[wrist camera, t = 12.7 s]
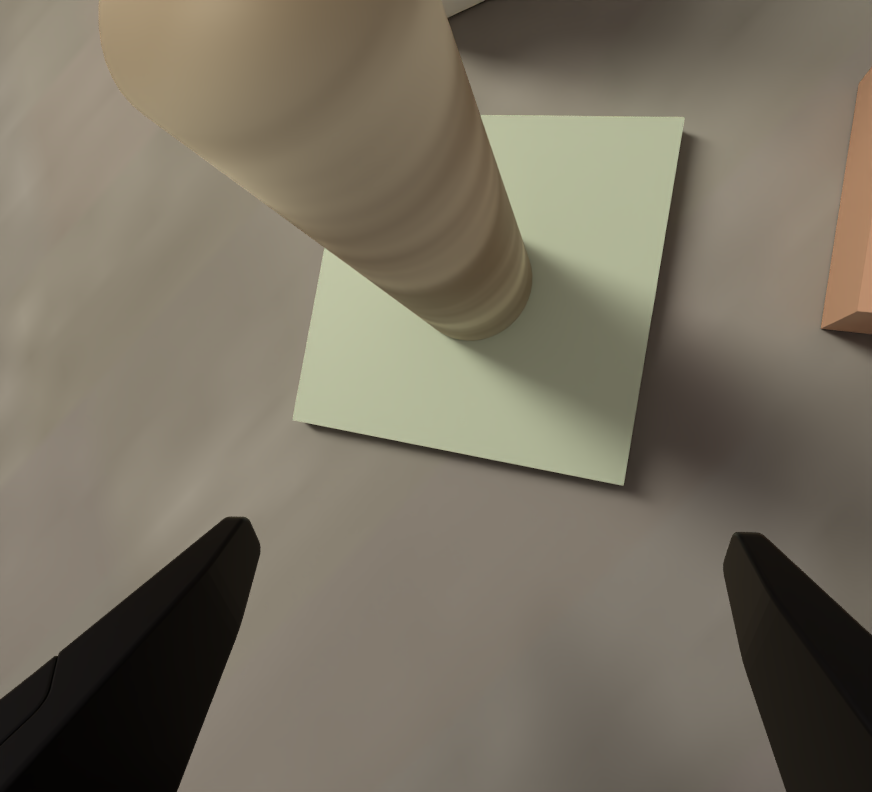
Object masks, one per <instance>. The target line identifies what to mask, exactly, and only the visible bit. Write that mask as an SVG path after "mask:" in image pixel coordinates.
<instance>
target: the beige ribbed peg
mask: <svg viewBox="0 0 872 792" xmlns="http://www.w3.org/2000/svg"><path fill="white" fill-rule="evenodd" d="M99 31H100V39H101V46H102V50H103V53H104V57H105V61H106V64H107V66H108V69H109V71H110V73H111V76H112V78H113V80H114V81H115V83H116V85H117V86H118V88H119V90H120V91H121V93H122V94H123V95H124V96H125V97H126V99H127V100H128V101H129V102H130V103H131V105H133V106H134V107H135V108H136V109H137V110H139V111H140V112H141V113H142V114H143V115H144V116H146V117H147V118H149V119H150V120H151V121H153V122H154V123H155V124H157V125H158V126H159V127H161V128H162V129H164V130H165V131H166V132H168V133H169V134H170V135H172V136H173V137H174V138H176V139H177V140H179V141H180V142H181V143H183V144H184V145H185V146H187V147H188V148H189V149H191V150H192V151H194V152H195V153H196V154H198V155H199V156H200V157H202V158H203V159H204V160H206V161H207V162H209V163H210V164H211V165H213V166H214V167H215V168H217V169H218V170H219V171H221V172H222V173H224V174H225V175H226V176H228V177H229V178H230V179H232V180H233V181H234V182H236V183H237V184H239V185H240V186H241V187H243V188H244V189H245V190H247V191H248V192H249V193H251V194H252V195H254V196H255V197H256V198H258V199H259V200H260V201H262V202H263V203H264V204H266V205H267V206H268V207H270V208H271V209H273V210H274V211H275V212H277V213H278V214H279V215H281V216H282V217H283V218H285V219H286V220H288V221H289V222H290V223H292V224H293V225H294V226H296V227H297V228H298V229H300V230H301V231H303V232H304V233H305V234H307V235H308V236H309V237H311V238H312V239H313V240H315V241H316V242H318V243H319V244H320V245H322V246H323V247H324V248H326V249H327V250H328V251H330V252H331V253H333V254H334V255H335V256H337V257H338V258H339V259H341V260H342V261H343V262H345V263H346V264H348V265H349V266H350V267H352V268H353V269H354V270H356V271H357V272H358V273H360V274H361V275H363V276H364V277H365V278H367V279H368V280H369V281H371V282H372V283H373V284H375V285H376V286H378V287H379V288H380V289H382V290H383V291H384V292H386V293H387V294H388V295H390V296H391V297H393V298H394V299H395V300H397V301H398V302H399V303H401V304H402V305H403V306H405V307H406V308H408V309H409V310H410V311H412V312H413V313H414V314H416V315H417V316H418V317H420V318H421V319H423V320H424V321H425V322H427V323H428V324H429V325H431V326H432V327H433V328H435V329H436V330H438V331H439V332H441V333H442V334H444V335H446V336H448V337H451V338H454V339H458V340H464V341H475V340H482V339H486V338H489V337H492V336H494V335H496V334H498V333H500V332H502V331H503V330H505V329H506V328H507V327H509V326H510V325H511V324H512V323H513V322H514V321H515V320H516V319H517V318H518V317H519V315H520V314H521V313H522V311H523V309H524V308H525V306H526V304H527V301H528V299H529V296H530V293H531V288H532V268H531V264H530V260H529V257H528V254H527V251H526V248H525V245H524V242H523V239H522V236H521V234H520V231H519V228H518V225H517V222H516V219H515V216H514V213H513V210H512V207H511V204H510V201H509V198H508V195H507V192H506V189H505V186H504V183H503V181H502V178H501V175H500V172H499V169H498V166H497V163H496V160H495V157H494V154H493V151H492V148H491V145H490V142H489V139H488V136H487V133H486V130H485V127H484V125H483V122H482V119H481V116H480V113H479V110H478V107H477V104H476V101H475V98H474V95H473V92H472V89H471V86H470V83H469V80H468V77H467V74H466V72H465V69H464V66H463V63H462V60H461V57H460V54H459V51H458V48H457V45H456V42H455V39H454V36H453V33H452V30H451V27H450V24H449V21H448V18H447V16H446V13H445V10H444V7H443V4H442V1H441V0H99Z"/></svg>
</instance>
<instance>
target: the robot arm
mask: <svg viewBox="0 0 872 792" xmlns="http://www.w3.org/2000/svg"><path fill="white" fill-rule="evenodd" d="M259 556H260V543H259V540H258V538H257V536H256V533H255V531H254V529H253V527H252V524H251V522H250V520H249V519H248V518H246V517H232V516H231V517H226V518H225V519H223V520H222V521H220V522H219V523H218V524H217V525H216V526H214V527H213V528H212V529H211V530H209V531H208V532H207V533H206V534H204V535H203V536H202V537H201V538H200V539H198V540H197V541H196V542H195V543H193V544H192V545H191V546H190V547H188V548H187V549H186V550H185V551H184V552H182V553H181V554H180V555H179V556H177V557H176V558H175V559H174V560H172V561H171V562H170V563H169V564H168V565H166V566H165V567H164V568H163V569H161V570H160V571H159V572H158V573H156V574H155V575H154V576H153V577H152V578H150V579H149V580H148V581H147V582H145V583H144V584H143V585H142V586H140V587H139V588H138V589H137V590H136V591H134V592H133V593H132V594H131V595H129V596H128V597H127V598H126V599H124V600H123V601H122V602H121V603H120V604H118V605H117V606H116V607H115V608H113V609H112V610H111V611H110V612H108V613H107V614H106V615H105V616H104V617H102V618H101V619H100V620H99V621H97V622H96V623H95V624H94V625H92V626H91V627H90V628H89V629H88V630H86V631H85V632H84V633H83V634H81V635H80V636H79V637H78V638H77V639H75V640H74V641H73V642H72V643H70V644H69V645H68V646H67V647H65V648H64V649H63V650H62V651H61V652H60V653H59V654H58V656H54V657H53V658H52V659H50V660H49V661H48V662H47V663H46V664H44V665H43V666H42V667H41V668H39V669H38V670H37V671H36V672H34V673H33V674H32V675H31V676H29V677H28V678H27V679H26V680H24V681H23V682H22V683H21V684H19V685H18V686H17V687H15V688H14V689H13V690H12V691H10V692H9V693H8V694H7V695H5V696H4V697H3V698H1V699H0V792H177V790H178V788H179V785H180V782H181V780H182V777H183V775H184V772H185V769H186V767H187V764H188V762H189V759H190V756H191V754H192V751H193V749H194V746H195V743H196V741H197V738H198V736H199V733H200V730H201V728H202V725H203V723H204V720H205V717H206V715H207V712H208V710H209V707H210V704H211V702H212V699H213V697H214V694H215V692H216V689H217V686H218V684H219V681H220V679H221V676H222V673H223V671H224V668H225V666H226V663H227V660H228V658H229V655H230V653H231V650H232V647H233V645H234V642H235V640H236V637H237V634H238V631H239V629H240V625H241V622H242V619H243V615H244V612H245V608H246V604H247V601H248V597H249V593H250V590H251V586H252V582H253V579H254V575H255V571H256V568H257V564H258V560H259ZM723 572H724V578H725V583H726V587H727V592H728V596H729V601H730V606H731V610H732V615H733V620H734V624H735V629H736V634H737V638H738V643H739V648H740V652H741V656H742V660H743V664H744V667H745V670H746V673H747V677H748V680H749V682H750V685H751V688H752V691H753V694H754V697H755V700H756V703H757V706H758V709H759V712H760V715H761V718H762V721H763V724H764V727H765V730H766V733H767V736H768V739H769V742H770V745H771V748H772V751H773V754H774V757H775V760H776V763H777V766H778V768H779V771H780V774H781V777H782V780H783V783H784V786H785V789H786V792H872V635H871V634H870V633H869V632H868V631H867V630H866V629H865V628H863V627H862V626H861V625H860V624H859V623H858V622H857V621H856V620H855V619H854V618H853V617H852V616H850V615H849V614H848V613H847V612H846V611H845V610H844V609H843V608H842V607H841V606H840V605H839V604H838V603H836V602H835V601H834V600H833V599H832V598H831V597H830V596H829V595H828V594H827V593H826V592H825V591H824V590H822V589H821V588H820V587H819V586H818V585H817V584H816V583H815V582H814V581H813V580H812V579H811V578H810V577H808V576H807V575H806V574H805V573H804V572H803V571H802V570H801V569H800V568H799V567H798V566H797V565H795V564H794V563H793V562H792V561H791V560H790V559H789V558H788V557H787V556H786V555H785V554H784V553H783V552H781V551H780V550H779V549H778V548H777V547H776V546H775V545H774V544H773V543H772V542H771V541H770V540H769V539H767V538H766V537H765V536H764V535H762V534H760V533H756V532H736V533H734V534H733V536H732V538H731V541H730V544H729V547H728V550H727V553H726V556H725V559H724V563H723Z"/></svg>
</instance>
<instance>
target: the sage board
mask: <svg viewBox="0 0 872 792" xmlns="http://www.w3.org/2000/svg"><path fill="white" fill-rule="evenodd" d="M480 116H481V119H482V122H483V125H484V127H485V130H486V133H487V136H488V139H489V142H490V145H491V148H492V151H493V154H494V157H495V160H496V163H497V166H498V169H499V172H500V175H501V178H502V181H503V183H504V186H505V189H506V192H507V195H508V198H509V201H510V204H511V207H512V210H513V213H514V216H515V219H516V222H517V225H518V228H519V231H520V234H521V236H522V239H523V242H524V245H525V248H526V251H527V254H528V257H529V260H530V264H531V268H532V288H531V293H530V296H529V299H528V301H527V304H526V306H525V308H524V309H523V311H522V313H521V314H520V315H519V317H518V318H517V319H516V320H515V321H514V322H513V323H512V324H511V325H510V326H509V327H507V328H506V329H505V330H503V331H502V332H500V333H498V334H496V335H494V336H492V337H489V338H486V339H482V340H475V341H464V340H458V339H454V338H451V337H448V336H446V335H444V334H442V333H441V332H439V331H438V330H436V329H435V328H433V327H432V326H431V325H429V324H428V323H427V322H425V321H424V320H423V319H421V318H420V317H418V316H417V315H416V314H414V313H413V312H412V311H410V310H409V309H408V308H406V307H405V306H403V305H402V304H401V303H399V302H398V301H397V300H395V299H394V298H393V297H391V296H390V295H388V294H387V293H386V292H384V291H383V290H382V289H380V288H379V287H378V286H376V285H375V284H373V283H372V282H371V281H369V280H368V279H367V278H365V277H364V276H363V275H361V274H360V273H358V272H357V271H356V270H354V269H353V268H352V267H350V266H349V265H348V264H346V263H345V262H343V261H342V260H341V259H339V258H338V257H337V256H335V255H334V254H333V253H331V252H330V251H328V250H327V249H326V248H324V253H323V259H322V264H321V269H320V275H319V280H318V285H317V291H316V296H315V301H314V307H313V312H312V317H311V323H310V328H309V334H308V339H307V344H306V350H305V355H304V360H303V366H302V371H301V376H300V382H299V387H298V392H297V398H296V403H295V409H294V414H293V419H292V420H294V421H300V422H305V423H310V424H315V425H320V426H325V427H330V428H335V429H340V430H345V431H350V432H355V433H360V434H365V435H370V436H375V437H380V438H385V439H390V440H395V441H400V442H405V443H410V444H416V445H421V446H426V447H431V448H436V449H441V450H446V451H451V452H456V453H461V454H466V455H471V456H476V457H481V458H486V459H491V460H496V461H501V462H506V463H511V464H516V465H521V466H526V467H532V468H537V469H542V470H547V471H552V472H557V473H562V474H567V475H572V476H577V477H582V478H587V479H592V480H597V481H602V482H607V483H612V484H617V485H622V486H624V480H625V474H626V468H627V462H628V456H629V450H630V444H631V438H632V432H633V426H634V420H635V414H636V408H637V402H638V396H639V390H640V384H641V378H642V372H643V366H644V360H645V354H646V348H647V342H648V336H649V330H650V324H651V318H652V312H653V306H654V299H655V293H656V287H657V281H658V275H659V269H660V263H661V257H662V251H663V245H664V239H665V233H666V227H667V221H668V215H669V209H670V203H671V197H672V191H673V185H674V179H675V173H676V167H677V161H678V155H679V149H680V143H681V137H682V131H683V125H684V119H685V117H628V116H529V115H480Z"/></svg>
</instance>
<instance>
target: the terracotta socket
mask: <svg viewBox="0 0 872 792" xmlns="http://www.w3.org/2000/svg"><path fill="white" fill-rule="evenodd" d="M821 329H828V330H838V331H847V332H856V333H866V334H872V67H871V68H870V70H869V71H868V72H867V74H866V75H865V76H864V78H863V79H862V80H861V82H860V83H859V86H858V92H857V99H856V105H855V112H854V118H853V124H852V131H851V137H850V144H849V150H848V156H847V163H846V169H845V176H844V182H843V189H842V195H841V201H840V208H839V214H838V221H837V227H836V234H835V240H834V246H833V253H832V259H831V266H830V272H829V279H828V285H827V291H826V298H825V304H824V311H823V317H822V323H821Z"/></svg>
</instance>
